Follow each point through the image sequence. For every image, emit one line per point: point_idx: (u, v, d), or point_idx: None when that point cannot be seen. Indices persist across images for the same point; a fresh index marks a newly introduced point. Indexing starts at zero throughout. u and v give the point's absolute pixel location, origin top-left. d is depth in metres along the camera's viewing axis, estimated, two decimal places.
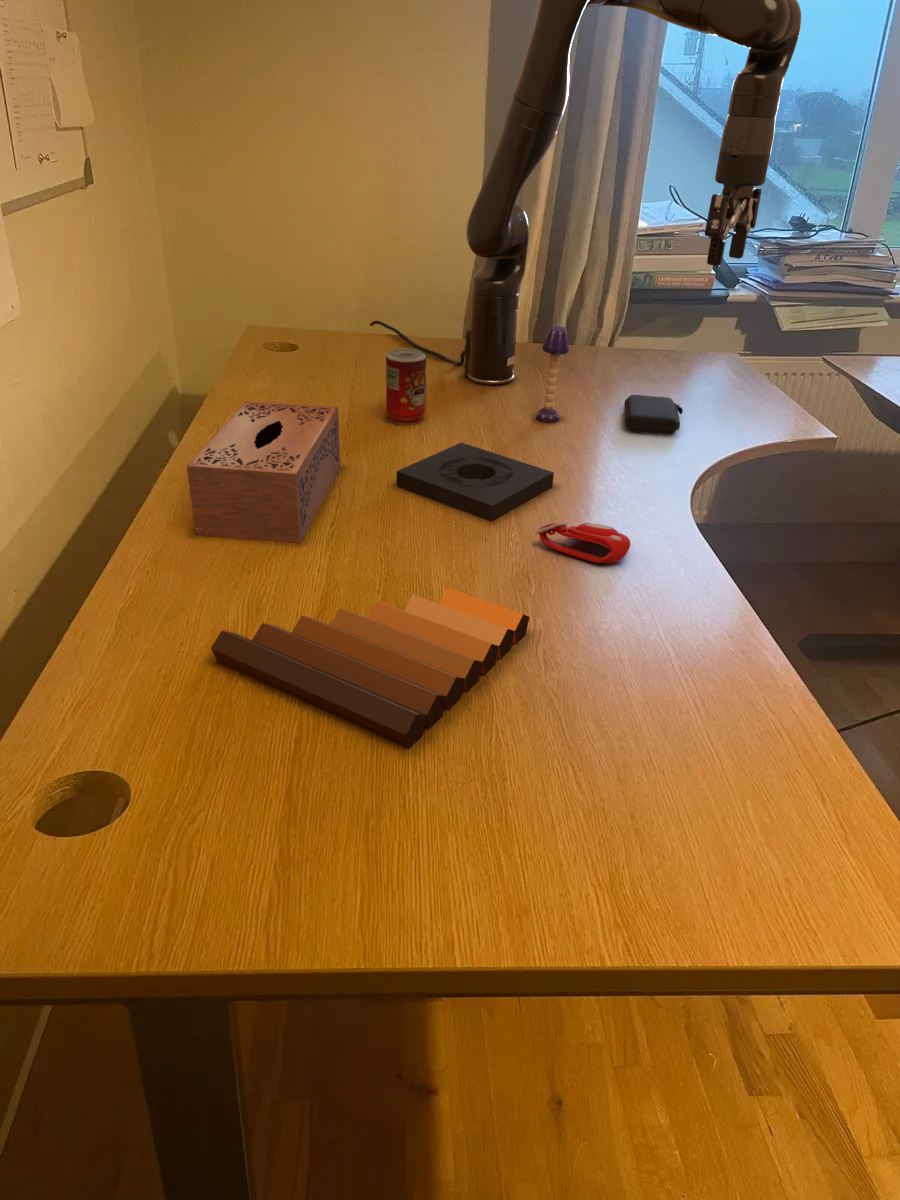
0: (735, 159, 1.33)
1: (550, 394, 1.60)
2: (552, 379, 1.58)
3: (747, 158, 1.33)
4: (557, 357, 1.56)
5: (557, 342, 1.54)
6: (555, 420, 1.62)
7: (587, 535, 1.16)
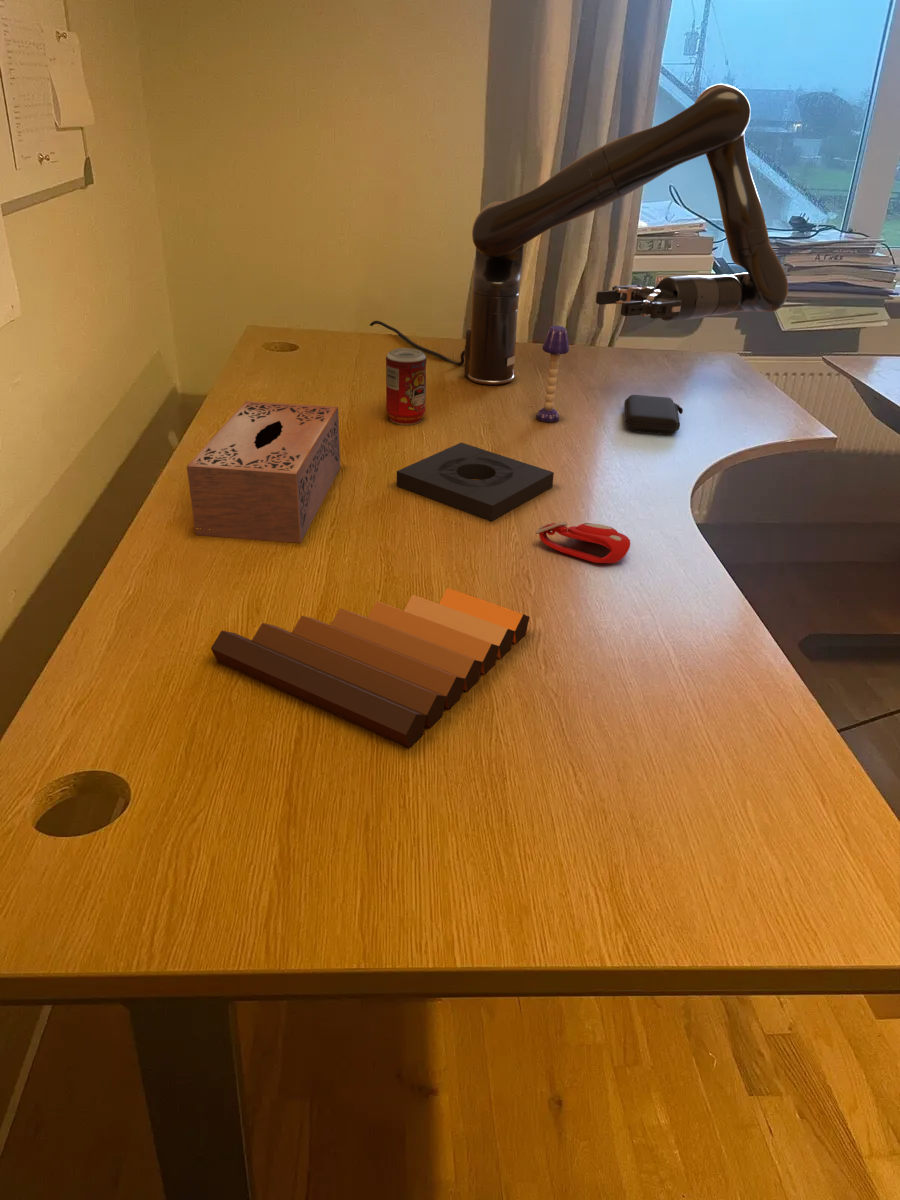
0: (693, 304, 1.58)
1: (550, 394, 1.60)
2: (552, 379, 1.58)
3: (691, 312, 1.59)
4: (557, 357, 1.56)
5: (557, 342, 1.54)
6: (555, 420, 1.62)
7: (587, 535, 1.16)
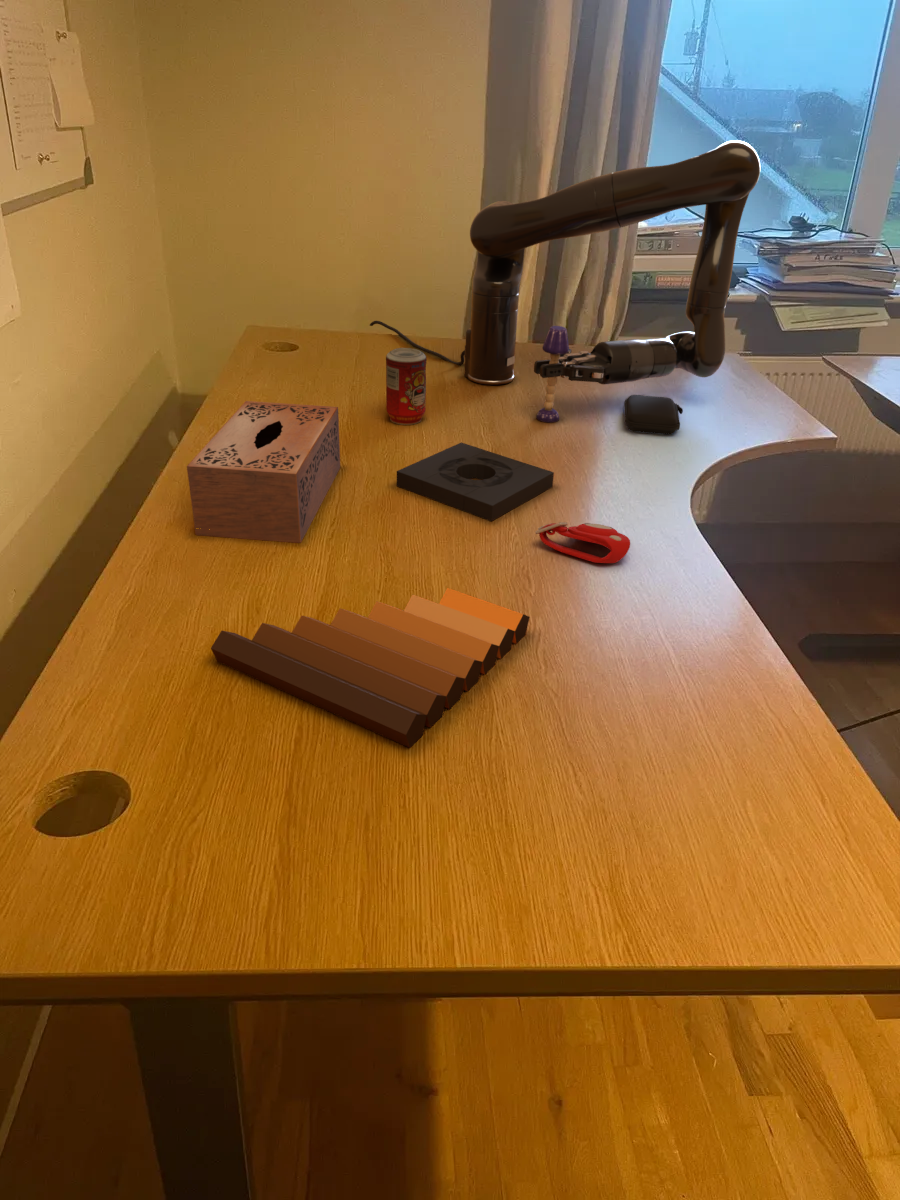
0: (627, 369, 1.60)
1: (550, 394, 1.60)
2: (552, 379, 1.58)
3: (626, 376, 1.61)
4: (557, 357, 1.56)
5: (557, 342, 1.54)
6: (555, 420, 1.62)
7: (587, 535, 1.16)
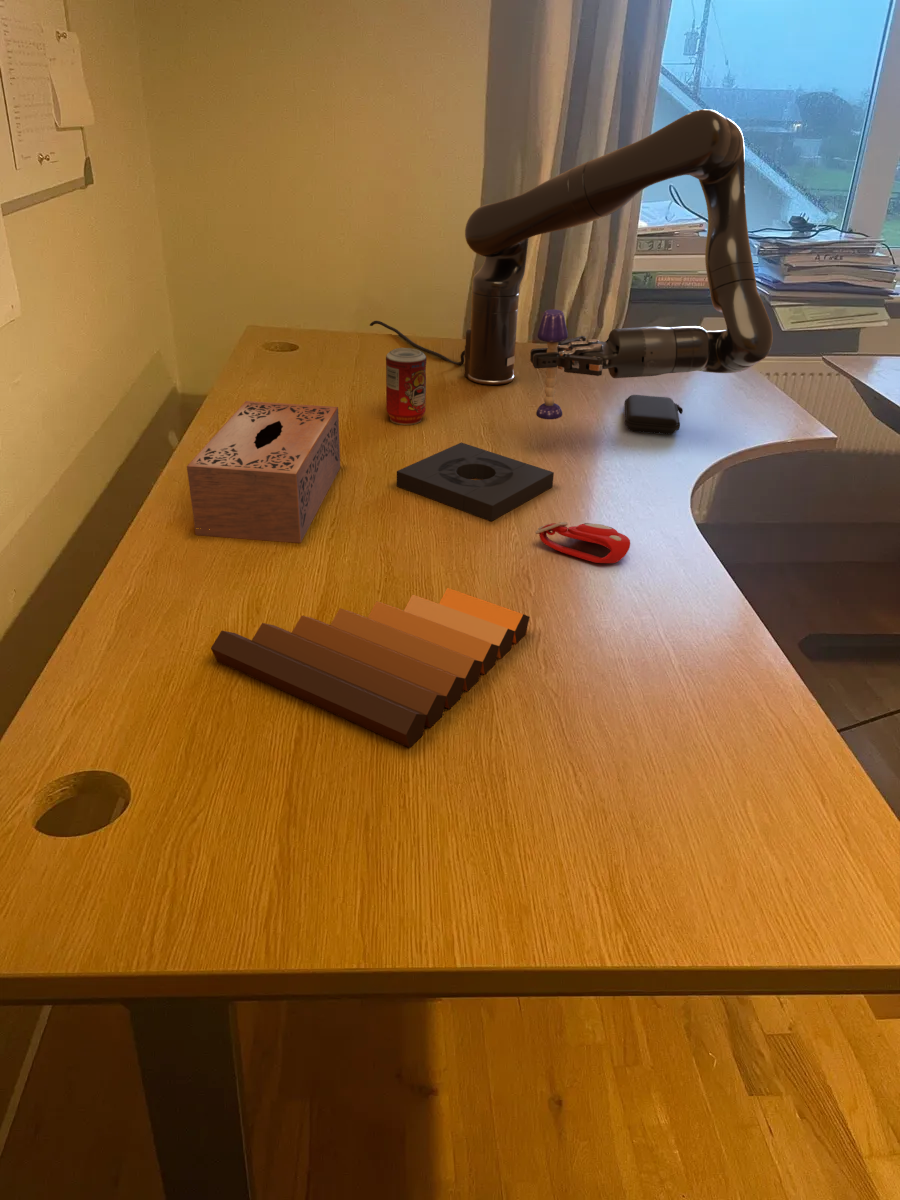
0: (640, 361, 1.37)
1: (549, 387, 1.41)
2: (550, 370, 1.39)
3: (640, 370, 1.38)
4: (553, 345, 1.37)
5: (550, 329, 1.35)
6: (554, 417, 1.42)
7: (587, 535, 1.16)
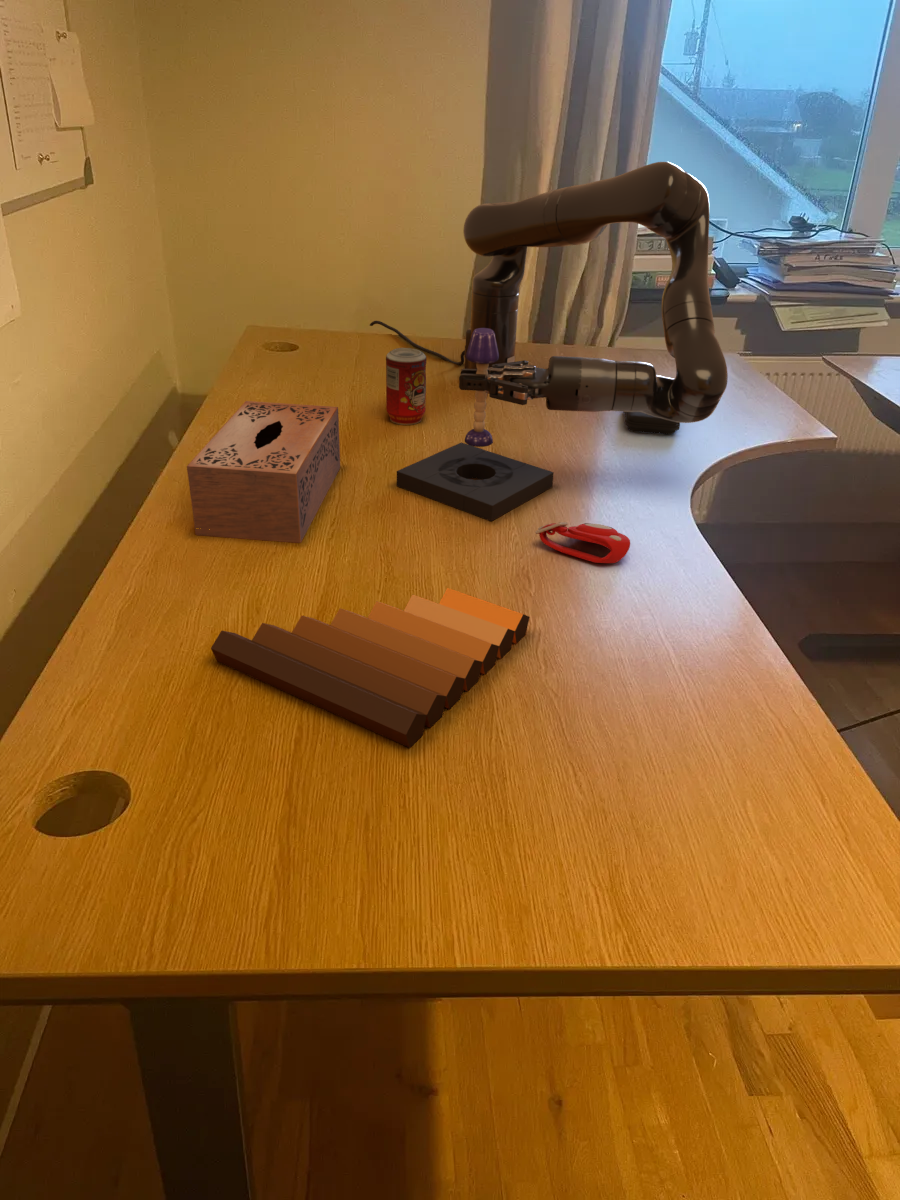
0: (573, 394, 1.24)
1: (478, 412, 1.30)
2: (478, 394, 1.28)
3: (574, 404, 1.25)
4: (482, 367, 1.26)
5: (476, 348, 1.23)
6: (481, 445, 1.31)
7: (587, 535, 1.16)
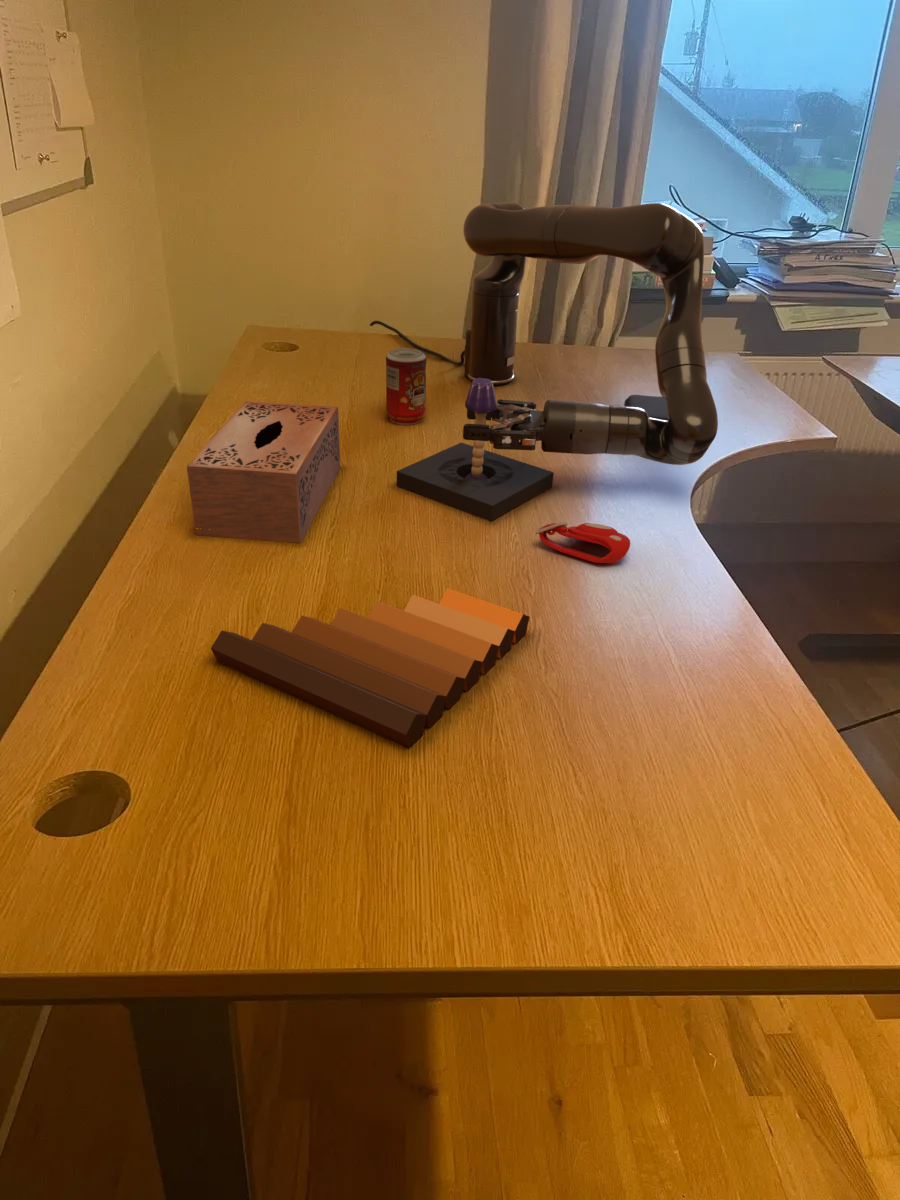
0: (568, 438, 1.27)
1: (476, 458, 1.34)
2: None
3: (568, 447, 1.29)
4: (480, 415, 1.30)
5: (475, 398, 1.27)
6: None
7: (587, 535, 1.16)
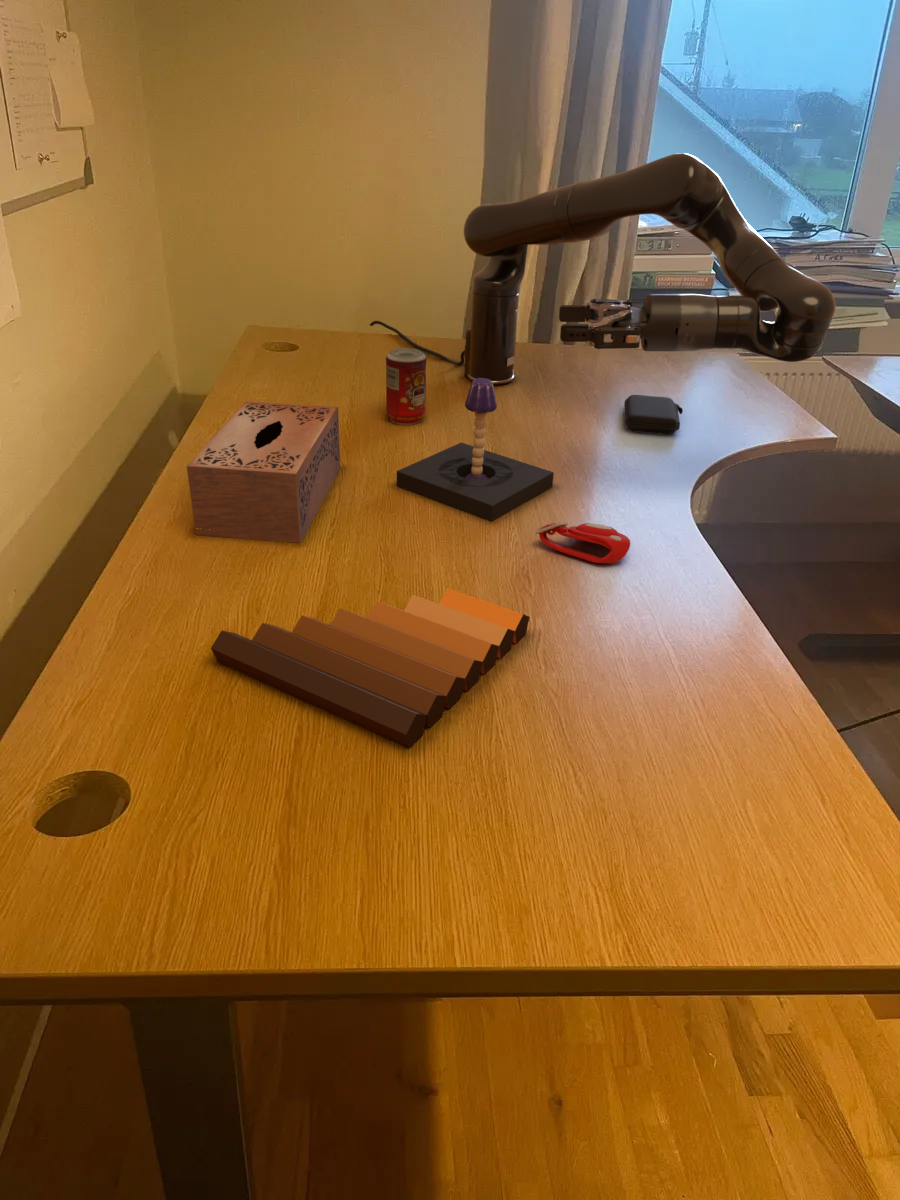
0: (673, 333, 1.19)
1: (476, 458, 1.34)
2: (476, 440, 1.32)
3: (673, 344, 1.20)
4: (480, 415, 1.30)
5: (475, 398, 1.27)
6: None
7: (587, 535, 1.16)
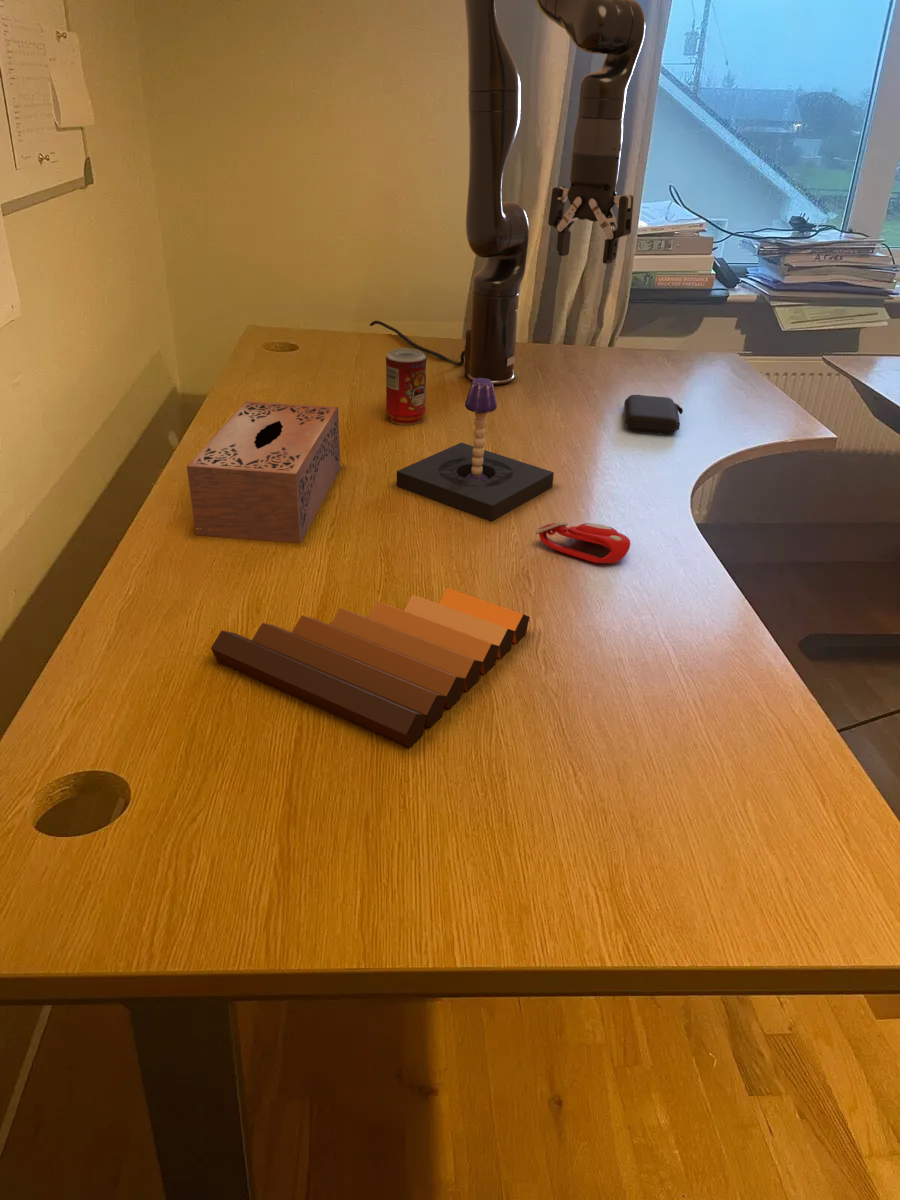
0: (617, 160, 1.38)
1: (476, 458, 1.34)
2: (476, 440, 1.32)
3: (619, 158, 1.40)
4: (480, 415, 1.30)
5: (475, 398, 1.27)
6: None
7: (587, 535, 1.16)
